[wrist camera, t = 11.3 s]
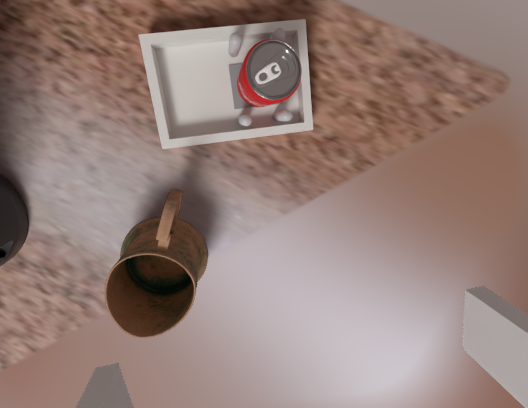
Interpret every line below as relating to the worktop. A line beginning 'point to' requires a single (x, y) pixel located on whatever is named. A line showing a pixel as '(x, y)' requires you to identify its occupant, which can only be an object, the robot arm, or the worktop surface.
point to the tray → (219, 84)
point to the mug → (156, 273)
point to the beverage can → (269, 73)
